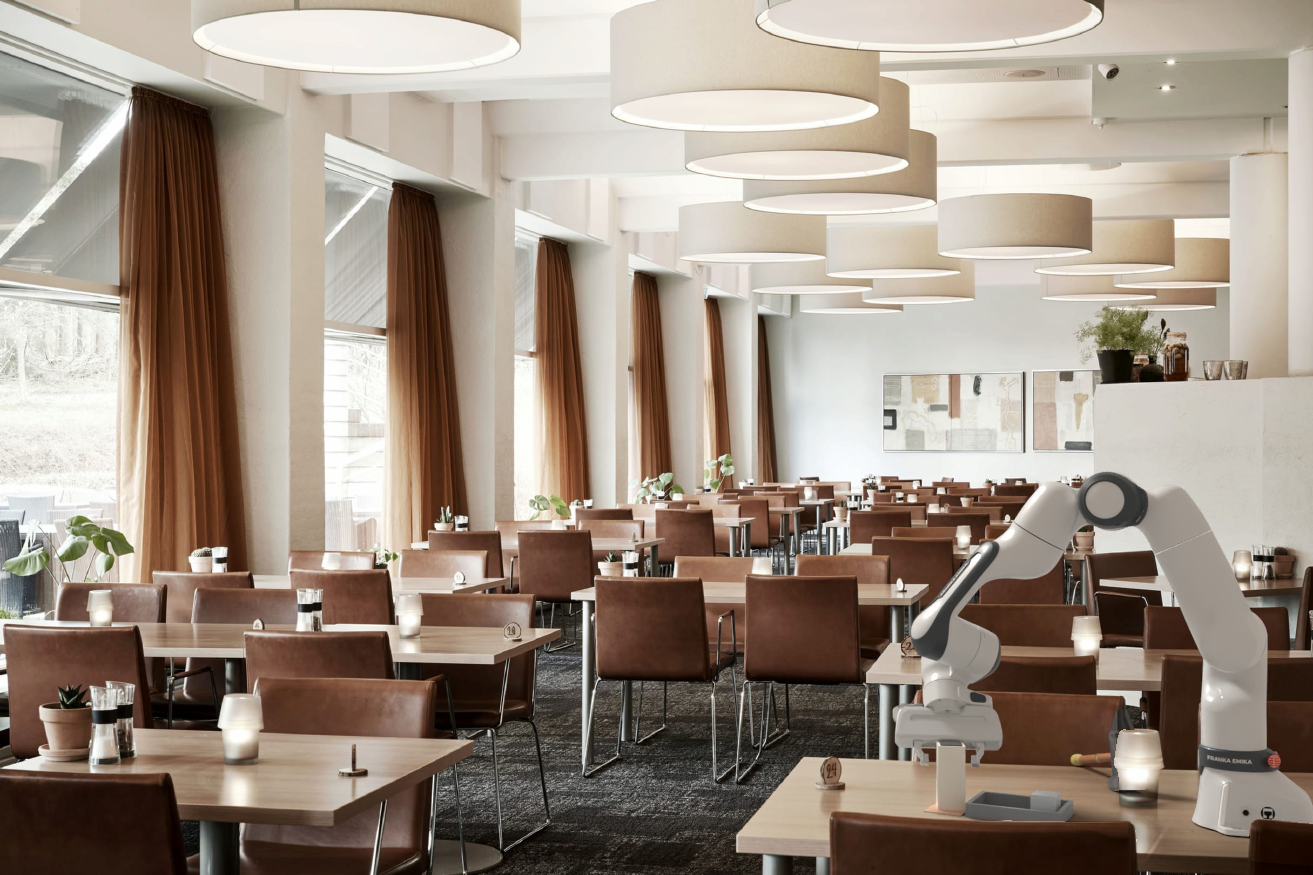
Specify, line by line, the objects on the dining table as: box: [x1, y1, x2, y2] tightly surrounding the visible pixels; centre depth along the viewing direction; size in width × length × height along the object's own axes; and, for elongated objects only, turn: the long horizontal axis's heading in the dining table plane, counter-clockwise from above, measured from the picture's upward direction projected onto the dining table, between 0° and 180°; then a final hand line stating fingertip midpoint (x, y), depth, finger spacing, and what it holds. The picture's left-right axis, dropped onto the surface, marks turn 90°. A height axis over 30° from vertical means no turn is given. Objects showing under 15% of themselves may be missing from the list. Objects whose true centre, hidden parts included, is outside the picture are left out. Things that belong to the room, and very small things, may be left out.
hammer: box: [1070, 709, 1136, 792], centre depth 295 cm, size 6×16×30 cm
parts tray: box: [965, 790, 1074, 821], centre depth 258 cm, size 17×12×3 cm
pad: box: [923, 801, 966, 817], centre depth 264 cm, size 7×11×1 cm, turn 153°
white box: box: [935, 741, 966, 811], centre depth 264 cm, size 5×5×12 cm
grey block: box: [1029, 789, 1062, 812], centre depth 256 cm, size 4×4×4 cm
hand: (950, 765), depth 264 cm, fingers open, 8 cm apart
